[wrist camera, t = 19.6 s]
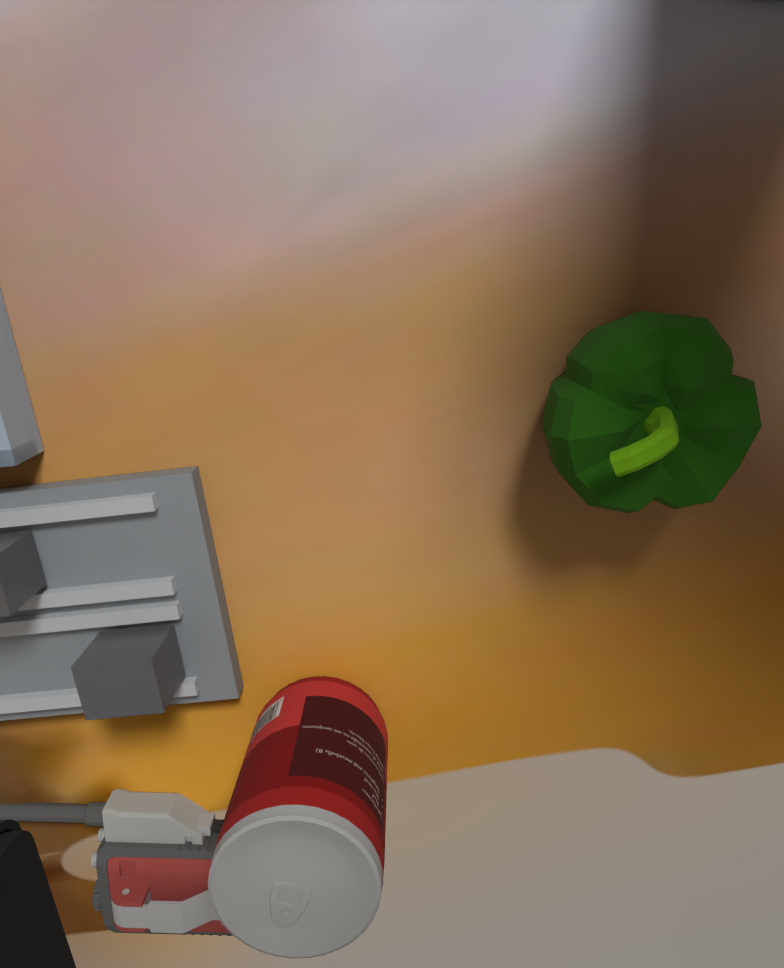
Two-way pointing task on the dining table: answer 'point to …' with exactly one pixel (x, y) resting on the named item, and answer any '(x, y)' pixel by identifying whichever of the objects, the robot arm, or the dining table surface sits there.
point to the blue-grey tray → (14, 403)
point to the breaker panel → (114, 585)
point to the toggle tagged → (18, 571)
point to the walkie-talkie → (144, 859)
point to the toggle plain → (129, 672)
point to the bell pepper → (650, 413)
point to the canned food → (305, 823)
